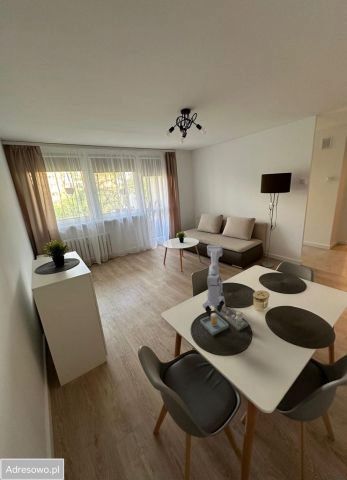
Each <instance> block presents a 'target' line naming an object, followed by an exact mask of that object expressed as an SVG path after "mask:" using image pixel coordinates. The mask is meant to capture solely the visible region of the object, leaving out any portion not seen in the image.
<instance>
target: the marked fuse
mask: <svg viewBox="0 0 347 480" xmlns="http://www.w3.org/2000/svg"><path fill="white" fill-rule="evenodd" d="M217 315H218V313H217V312H211V325H212V326H214V327H215V326H217Z"/></svg>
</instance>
